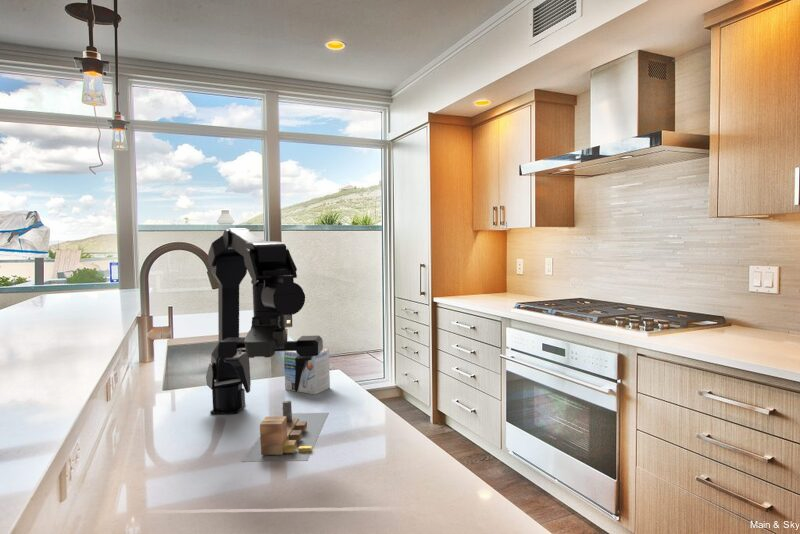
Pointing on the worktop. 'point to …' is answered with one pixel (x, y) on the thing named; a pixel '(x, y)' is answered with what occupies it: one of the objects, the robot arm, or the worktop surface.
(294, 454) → the base plate
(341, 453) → the worktop surface
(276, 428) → the yellow-striped wooden block
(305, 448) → the pointer
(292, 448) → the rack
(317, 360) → the light bulb box
